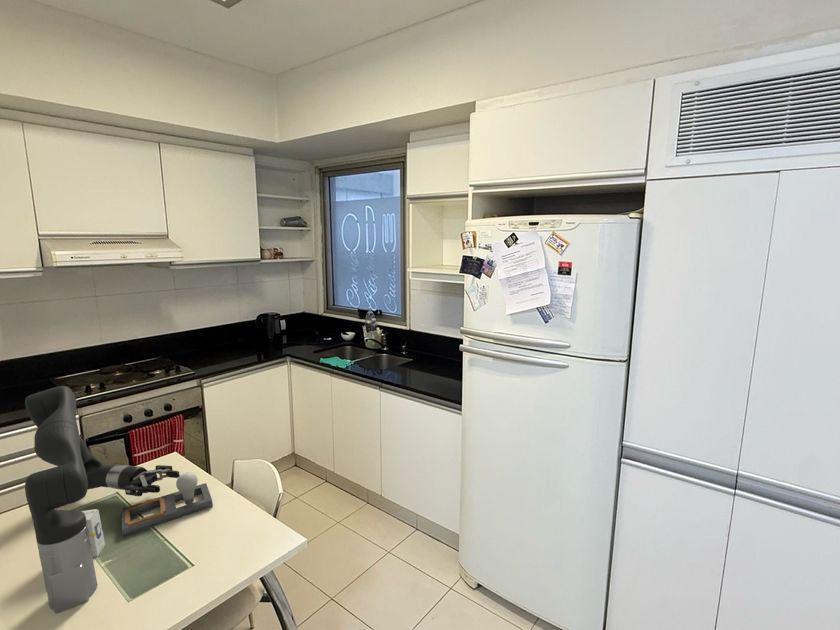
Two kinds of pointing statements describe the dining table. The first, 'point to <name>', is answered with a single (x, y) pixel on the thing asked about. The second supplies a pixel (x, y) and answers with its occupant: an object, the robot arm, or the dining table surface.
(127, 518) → the rail
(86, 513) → the ink box
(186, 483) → the lightbulb
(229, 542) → the dining table surface
